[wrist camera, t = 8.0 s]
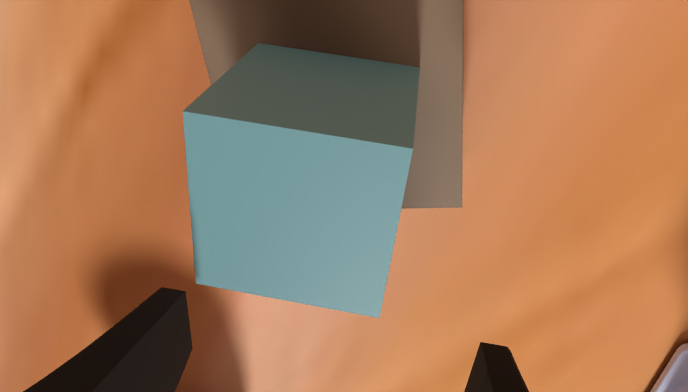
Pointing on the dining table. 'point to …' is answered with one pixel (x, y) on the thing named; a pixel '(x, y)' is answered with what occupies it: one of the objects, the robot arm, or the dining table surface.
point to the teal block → (300, 176)
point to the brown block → (366, 43)
